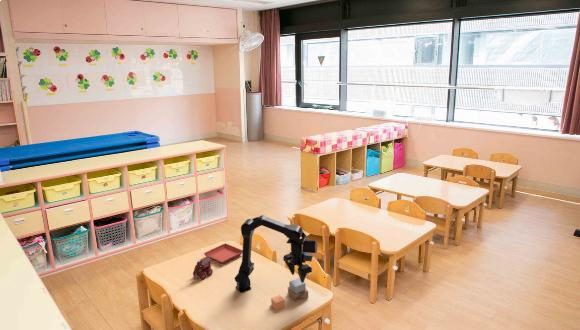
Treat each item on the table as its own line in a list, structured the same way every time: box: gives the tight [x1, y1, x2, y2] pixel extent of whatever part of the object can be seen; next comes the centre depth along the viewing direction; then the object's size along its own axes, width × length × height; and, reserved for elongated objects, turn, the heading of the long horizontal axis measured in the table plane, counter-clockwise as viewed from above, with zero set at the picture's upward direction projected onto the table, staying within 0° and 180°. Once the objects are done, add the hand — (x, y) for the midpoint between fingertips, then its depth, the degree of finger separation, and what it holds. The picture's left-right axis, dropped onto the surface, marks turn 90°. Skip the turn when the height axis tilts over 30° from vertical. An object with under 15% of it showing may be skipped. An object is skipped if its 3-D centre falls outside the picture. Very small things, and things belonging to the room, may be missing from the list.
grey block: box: [288, 277, 307, 294], centre depth 211 cm, size 6×6×4 cm
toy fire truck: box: [192, 256, 214, 281], centre depth 234 cm, size 7×12×10 cm, turn 143°
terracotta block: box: [270, 294, 286, 311], centre depth 205 cm, size 5×5×4 cm
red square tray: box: [203, 243, 243, 265], centre depth 256 cm, size 18×18×3 cm
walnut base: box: [287, 286, 309, 302], centre depth 213 cm, size 8×8×4 cm
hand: (297, 278), depth 210 cm, fingers open, 9 cm apart
